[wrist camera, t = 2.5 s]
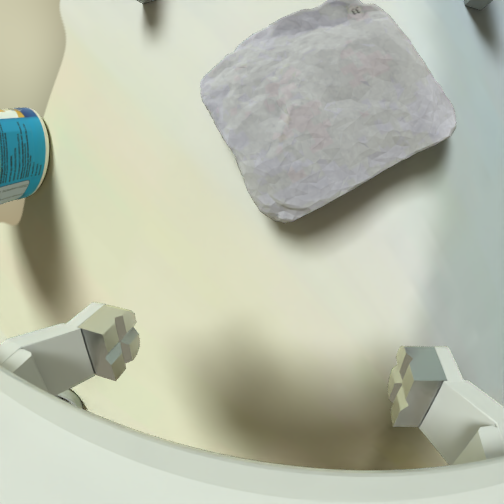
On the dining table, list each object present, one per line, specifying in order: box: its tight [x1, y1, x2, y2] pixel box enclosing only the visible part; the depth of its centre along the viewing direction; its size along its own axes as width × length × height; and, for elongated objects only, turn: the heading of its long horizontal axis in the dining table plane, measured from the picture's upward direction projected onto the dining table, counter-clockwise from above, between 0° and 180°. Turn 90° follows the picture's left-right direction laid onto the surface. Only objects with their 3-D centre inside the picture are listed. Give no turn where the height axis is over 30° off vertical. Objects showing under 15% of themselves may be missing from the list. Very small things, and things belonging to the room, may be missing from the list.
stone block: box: [200, 0, 456, 223], centre depth 15 cm, size 12×5×10 cm
